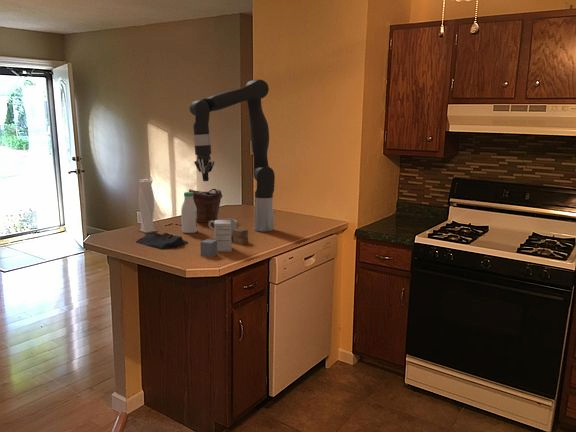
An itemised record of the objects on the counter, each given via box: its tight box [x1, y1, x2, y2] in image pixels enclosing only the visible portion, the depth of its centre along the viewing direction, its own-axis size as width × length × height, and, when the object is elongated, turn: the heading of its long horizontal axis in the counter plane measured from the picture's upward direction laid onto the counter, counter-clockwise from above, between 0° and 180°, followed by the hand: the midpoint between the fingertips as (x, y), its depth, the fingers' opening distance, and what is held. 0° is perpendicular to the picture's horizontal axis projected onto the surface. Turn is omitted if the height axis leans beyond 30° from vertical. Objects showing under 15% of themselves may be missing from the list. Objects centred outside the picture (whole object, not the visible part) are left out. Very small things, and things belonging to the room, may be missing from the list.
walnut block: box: [232, 227, 249, 245], centre depth 233 cm, size 5×5×6 cm
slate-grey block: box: [199, 239, 218, 258], centre depth 212 cm, size 5×5×6 cm
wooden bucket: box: [188, 188, 223, 223], centre depth 278 cm, size 18×20×18 cm
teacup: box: [207, 218, 238, 238], centre depth 243 cm, size 14×11×8 cm
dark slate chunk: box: [135, 232, 189, 251], centre depth 229 cm, size 15×22×5 cm
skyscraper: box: [138, 176, 159, 234], centre depth 248 cm, size 8×8×28 cm
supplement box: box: [213, 219, 232, 253], centre depth 220 cm, size 7×7×13 cm
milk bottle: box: [180, 191, 198, 234], centre depth 250 cm, size 8×8×20 cm
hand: (205, 181), depth 237 cm, fingers closed
